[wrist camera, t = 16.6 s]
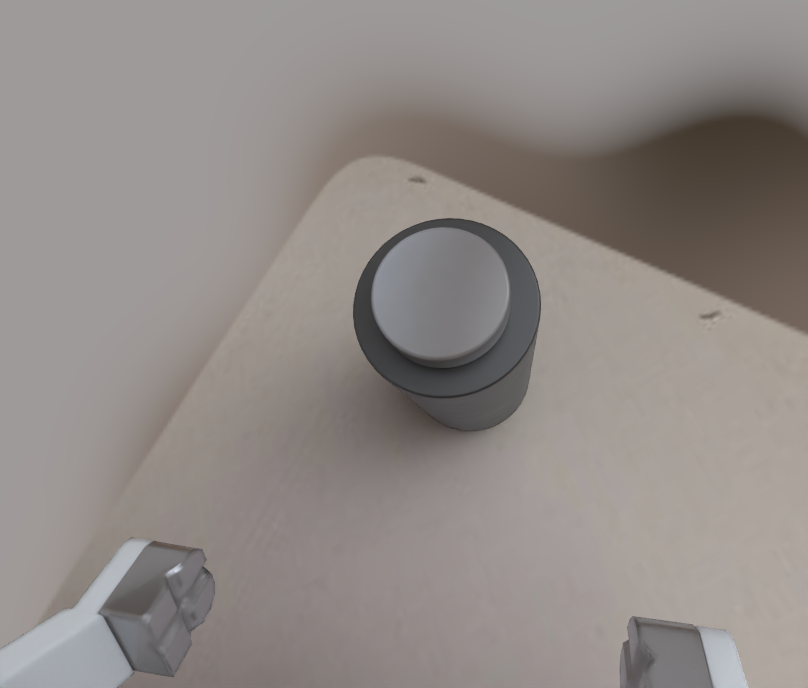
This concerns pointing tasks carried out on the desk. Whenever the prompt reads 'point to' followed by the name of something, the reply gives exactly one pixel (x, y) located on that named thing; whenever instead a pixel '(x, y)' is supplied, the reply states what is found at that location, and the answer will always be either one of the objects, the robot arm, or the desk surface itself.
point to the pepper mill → (451, 320)
